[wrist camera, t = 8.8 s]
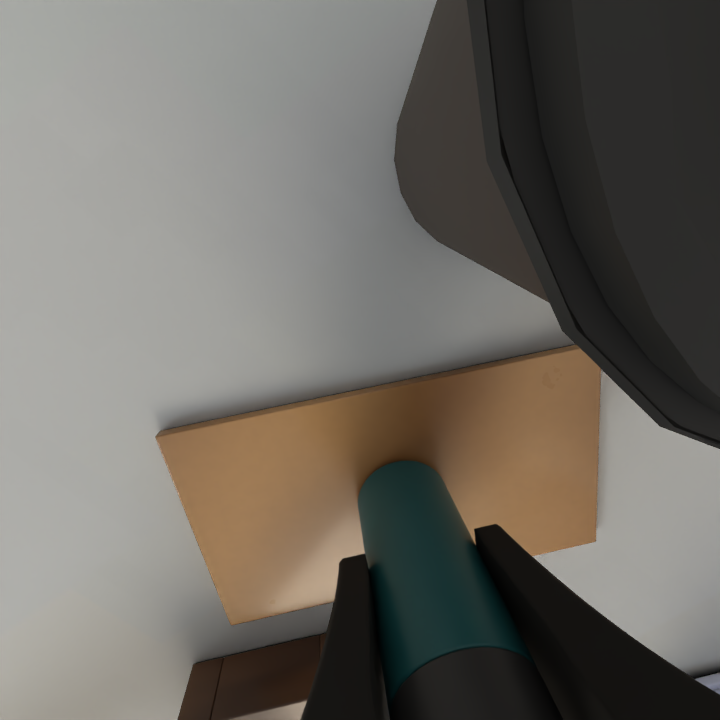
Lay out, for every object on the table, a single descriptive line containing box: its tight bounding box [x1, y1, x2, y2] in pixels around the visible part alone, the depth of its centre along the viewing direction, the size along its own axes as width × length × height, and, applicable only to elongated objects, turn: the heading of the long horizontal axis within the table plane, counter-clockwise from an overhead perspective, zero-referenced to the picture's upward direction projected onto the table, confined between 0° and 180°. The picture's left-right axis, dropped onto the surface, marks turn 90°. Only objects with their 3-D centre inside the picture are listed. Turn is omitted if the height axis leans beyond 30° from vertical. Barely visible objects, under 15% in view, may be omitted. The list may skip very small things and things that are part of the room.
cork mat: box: [156, 345, 601, 625], centre depth 13 cm, size 14×8×1 cm, turn 100°
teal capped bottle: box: [358, 461, 563, 720], centre depth 10 cm, size 3×3×8 cm
